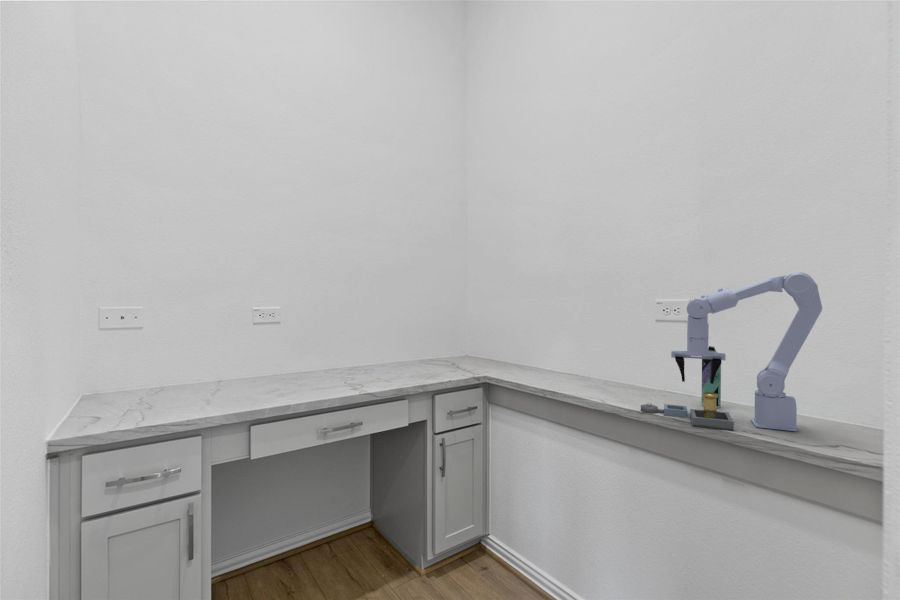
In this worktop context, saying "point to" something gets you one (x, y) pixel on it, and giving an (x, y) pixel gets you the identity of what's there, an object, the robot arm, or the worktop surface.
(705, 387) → the spray can
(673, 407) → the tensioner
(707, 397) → the pin
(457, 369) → the worktop surface
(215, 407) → the worktop surface
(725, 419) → the tray
